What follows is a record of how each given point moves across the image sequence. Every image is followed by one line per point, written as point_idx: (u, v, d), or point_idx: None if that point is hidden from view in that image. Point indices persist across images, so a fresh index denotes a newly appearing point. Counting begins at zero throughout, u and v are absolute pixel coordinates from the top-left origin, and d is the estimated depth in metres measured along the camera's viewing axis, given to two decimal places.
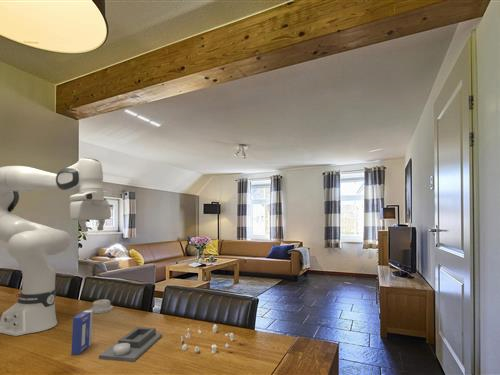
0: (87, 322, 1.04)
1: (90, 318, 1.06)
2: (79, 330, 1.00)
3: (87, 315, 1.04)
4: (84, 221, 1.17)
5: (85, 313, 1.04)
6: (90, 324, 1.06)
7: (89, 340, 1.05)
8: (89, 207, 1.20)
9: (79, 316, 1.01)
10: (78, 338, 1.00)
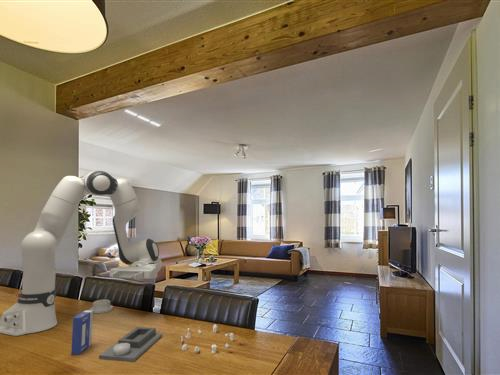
0: (87, 322, 1.04)
1: (90, 318, 1.06)
2: (79, 330, 1.00)
3: (87, 315, 1.04)
4: None
5: (85, 313, 1.04)
6: (90, 324, 1.06)
7: (89, 340, 1.05)
8: None
9: (79, 316, 1.01)
10: (78, 338, 1.00)
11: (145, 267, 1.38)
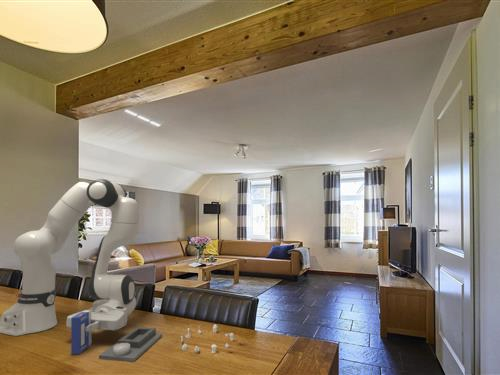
0: (85, 321, 1.04)
1: (89, 318, 1.06)
2: (78, 330, 1.00)
3: (85, 315, 1.04)
4: None
5: (83, 313, 1.04)
6: (89, 324, 1.06)
7: (89, 340, 1.05)
8: None
9: (77, 316, 1.01)
10: (77, 338, 1.00)
11: (111, 313, 1.12)
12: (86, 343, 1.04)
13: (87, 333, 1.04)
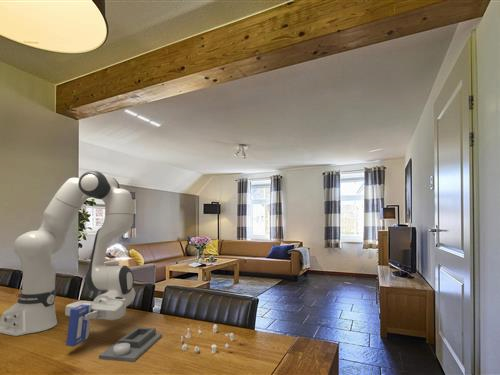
0: None
1: (88, 311, 1.06)
2: (75, 322, 1.00)
3: (85, 308, 1.04)
4: None
5: (83, 306, 1.05)
6: None
7: (86, 333, 1.05)
8: None
9: (77, 308, 1.02)
10: (73, 330, 1.00)
11: (110, 303, 1.13)
12: (82, 336, 1.04)
13: (85, 326, 1.04)
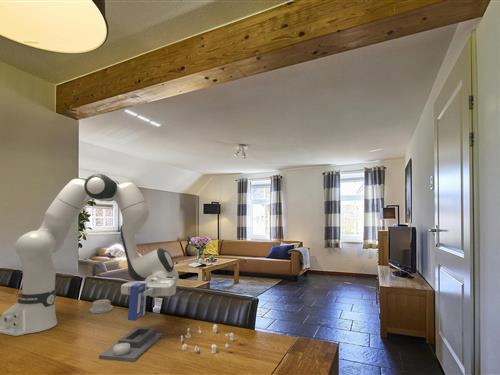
0: None
1: (145, 289, 1.12)
2: (135, 298, 1.06)
3: (142, 285, 1.10)
4: None
5: (141, 283, 1.11)
6: None
7: (143, 309, 1.11)
8: None
9: (136, 285, 1.08)
10: (134, 305, 1.06)
11: (162, 282, 1.19)
12: (141, 312, 1.10)
13: (142, 303, 1.10)
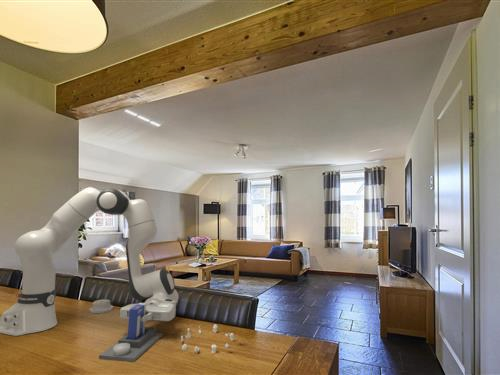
0: (141, 314, 1.09)
1: (144, 310, 1.11)
2: (135, 321, 1.05)
3: (141, 307, 1.09)
4: None
5: (140, 305, 1.10)
6: None
7: (142, 331, 1.11)
8: None
9: (135, 308, 1.07)
10: (133, 329, 1.05)
11: (161, 305, 1.18)
12: (140, 334, 1.09)
13: (142, 325, 1.10)
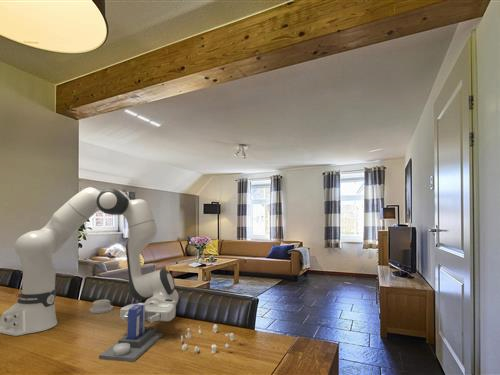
0: (140, 314, 1.09)
1: (143, 310, 1.11)
2: (134, 321, 1.05)
3: (141, 307, 1.09)
4: None
5: (139, 305, 1.10)
6: (143, 316, 1.11)
7: (142, 331, 1.11)
8: None
9: (134, 308, 1.07)
10: (133, 329, 1.05)
11: (161, 305, 1.18)
12: (140, 334, 1.09)
13: (141, 325, 1.10)
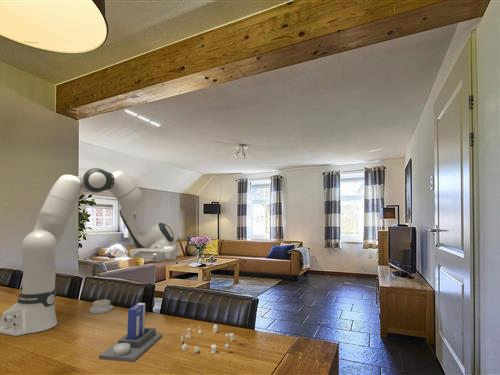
0: (140, 314, 1.09)
1: (143, 310, 1.11)
2: (134, 321, 1.05)
3: (140, 307, 1.09)
4: (162, 257, 1.33)
5: (138, 305, 1.10)
6: (143, 316, 1.11)
7: (142, 331, 1.11)
8: None
9: (133, 308, 1.07)
10: (133, 329, 1.05)
11: (165, 248, 1.40)
12: (140, 334, 1.09)
13: (141, 325, 1.10)
